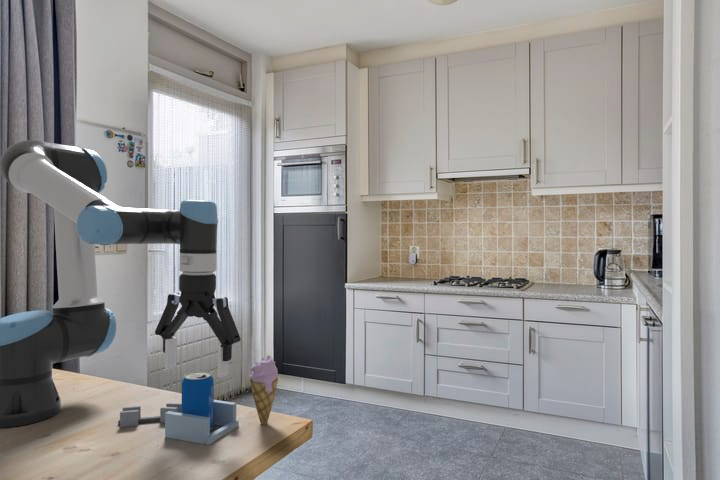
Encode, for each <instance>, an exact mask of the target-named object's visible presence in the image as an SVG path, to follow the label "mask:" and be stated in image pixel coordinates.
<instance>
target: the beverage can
mask: <svg viewBox="0 0 720 480" xmlns="http://www.w3.org/2000/svg"><path fill="white" fill-rule="evenodd" d="M214 385H215V383H214V377H213V375H212V372H210V371H205V370H202V371H201V370H198V371H191V372H187V373H185V374H184V375H183V379H182V380H181V403H182V413H184V414H191V415H197V416H203V417H210V430H211V429H213V427H214V400H215V399H214V398H215V397H214V390H215V389H214V387H215V386H214Z"/></svg>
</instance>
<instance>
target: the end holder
mask: <svg viewBox="0 0 720 480" xmlns="http://www.w3.org/2000/svg"><path fill="white" fill-rule="evenodd" d="M214 425H216V426H221V427H220V428H218V429H216V430H215V431H213V432H211V429H210V417H203V416H197V415H191V414H184V413H178V412H172V411H168V412H166V413H165V423H164V437H165V438H169V439H172V440H173V439H175V440H178V441H183V442H191V443H195V444H196V443H197V444H201V445H205V446H210V445H211V444H212V443H214V442H215V441H217V440H219V439H221V438H222V437H224V436H225V435H227V434H229V433H230V432H231V431H233V430H235V429H236V428H237V427H239V425H240V423H239V420H238V419H237V402H234V401H233V402H232V401H226V400H225V401H224V400H221V399H220V400H218V399H214Z"/></svg>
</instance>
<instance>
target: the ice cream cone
mask: <svg viewBox="0 0 720 480" xmlns="http://www.w3.org/2000/svg"><path fill="white" fill-rule="evenodd" d="M273 360H274V358H273V357H272V356H271V355H269V354H268V355H267V356H266V357H261V361H256V362H254V364H252V365H251V367H250V368H249V370H250V371H251V372H253V373H252V374H250V375H249V377H248V378H249V382H250V388H251V393H252V396H253V401H254V405H255V409H256V412H257V415H258V419H259V422H260V425H262V426H265V425H268V422H269V418H270V415H271V411H272V408H273V404H274V400H275V396H276V392H277V385H278V381H279V380H278V379H279V377H278V374H279V371H278V370H279V369H278V368H277V366H276V363H277V362H276V361H273Z"/></svg>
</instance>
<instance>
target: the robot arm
mask: <svg viewBox="0 0 720 480" xmlns="http://www.w3.org/2000/svg"><path fill="white" fill-rule="evenodd" d="M0 173H1V176H2V177H3V179H4V180H5V181H6V182H7V183H8V184H9V185H10V186H12V187H13V188H15V189H16V190H18V191H19V192H22V193H26V194H32V195H34V196H35V197H37V199H39V200H41V201H43V202H44V203H45V204H47V205H49V206H50V207H52V209H53V221H54V234H55V235H54V236H55V251H56V253H55V254H56V271H57V272H56V273H57V290H58V300H57V301H56V302H55V304H53V305H52V307H51V308H52V311H50V310H47V309H46V310H45V309H42V310H40V309H37V310H30V311H23V312H18V313H13V314H10V315H6V316H4V317H1V318H0V428H11V427H18V426H26V425H30V424H34V423H37V422H41V421H44V420H47V419H49V418H51V417H53V416H56V415H58V414H59V413H60V411H61V410H62V408H61V407H62V401H61V397H60V396H59V392H58V390H57V387H56V384H55V383H54V380H53V364H56V363H62V362H67V361H70V360H75V359H80V358H84V357H87V358H88V357H92V356H93V355H96V354H100V353H103V352H105V351H106V350H107V349H109V347H110V346H111V345H112V344H113V342H114V339H115V337H116V333H117V319H116V317H115V315H114V313H113V311H112V310H111V309H109V308H108V307H106V306H105V301H104V300H103V299H102V298H101V297H99V295H98V281H97V267H96V266H97V265H96V248H95V245H99V246H111V245H136V244H137V245H143V244H144V245H146V244H147V245H148V244H149V245H153V244H158V245H159V244H160V245H161V244H170V245H171V244H172V245H173V244H174V245H175V244H176V245H179V272H182V273H181V274H179V276H178V290H179V292H180V293H179V292H174V293H169V294H167V299H166V304H165V308H164V310H163V313H162V314H161V316H160V319H159V321H158V324H157V326H156V328H155V330H154V334H155V335H156V336H160V337H161V338H162V352H163V354H164V370H165V371H168V370H171V369H174V368H177V350H178V349H177V345H178V341H177V339H178V337H175V336H176V333H177V332H178V331H179V330H180V328H181V326H182V325H183V324H184V323H185V321H186V320H187V319H188V318H193V317H195V318H197V319H198V318H199V319H201V318H202V319H203V320H204V321H206V322H207V324H208V326H209V327H210V329H211V331H212V332H213V333H214V335H215V337H216V338H217V340H218V341H219V343H220V345H218V346H217V378H219V379H221V378H224V377H226V376H229V362H230V361H231V360H232V357H233V356H232V355H233V354H232V352H233V349H232V347H233V344H237V343H239V342H241V336H240V333H239V331H238V327H237V326H236V323H235V320H234V317H233V315H232V313H231V310H230V307H229V299H228V297H227V296H224V297H223V296H221V297H219V298H218V297H217V298H216V296H215V292H216V289H217V275H216V274H215V272H216V271H217V268H218V267H217V266H218V265H217V258H218V257H217V248H218V247H217V241H218V223H219V218H218V209H217V208H218V207H217V204H216V203H215V202H214V201H210V200H197V199H188V200H187V199H185V200H184V199H183V200H182V201H181V202H180V206H179V209H161V208H160V209H159V208H140V207H126V206H125V207H124V206H120V205H118V204H116V203H114V202H113V201H111V200H109V199H108V198H107V197H105V196H103V195H101V194H99V193H102V191H104V190H105V188H106V184H107V182H108V171H107V166H106V163H105V161H104V160H103V158H102V156H100V155H99V154H98V153H97V152H96V151H94V150H92V149H88V148H84V147H81V146H78V145H75V146H74V145H67V144H60V143H54V142H48V141H42V140H37V139H33V140H32V139H27V140H22V141H18V142H16V143H14V144H12V145H10V146H9V147H8V148H6V149H5V150H4V152H3V153H2V155H1V157H0ZM179 305H181V306H180V308H179ZM178 308H179V309H178ZM215 308H216V309H215ZM177 309H178V310H177ZM216 310H217V311H216ZM175 314H176V315H175Z"/></svg>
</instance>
